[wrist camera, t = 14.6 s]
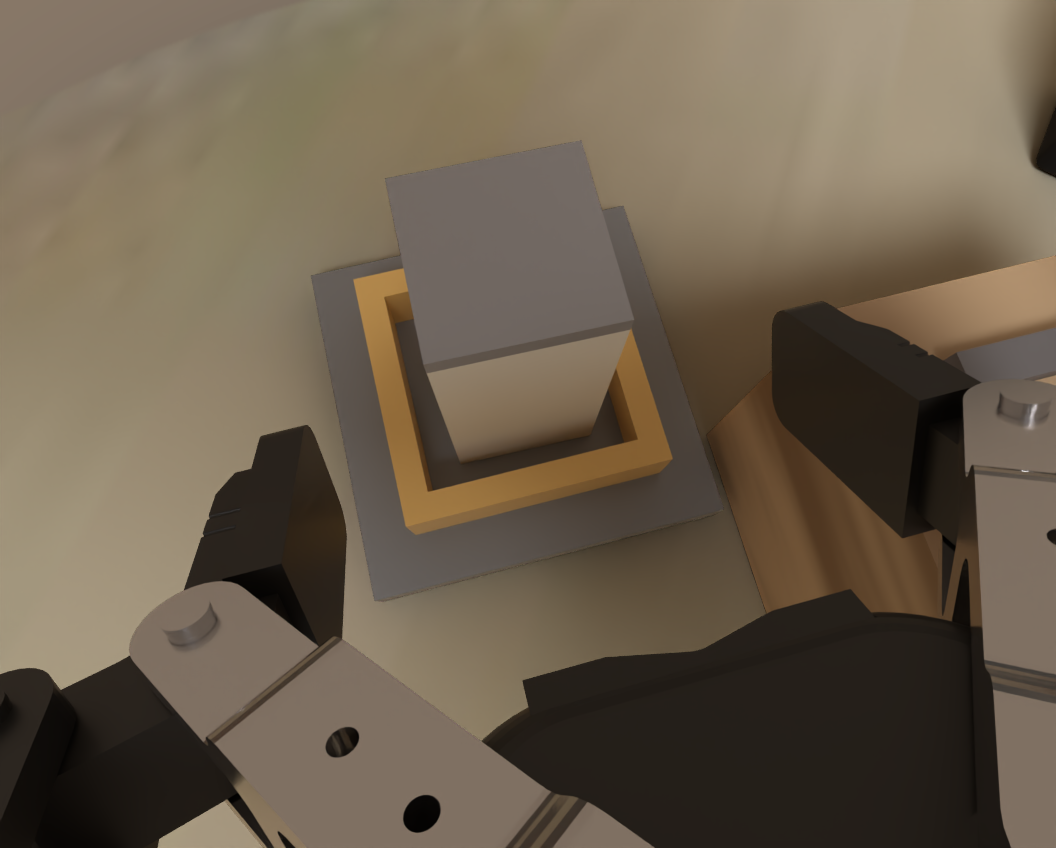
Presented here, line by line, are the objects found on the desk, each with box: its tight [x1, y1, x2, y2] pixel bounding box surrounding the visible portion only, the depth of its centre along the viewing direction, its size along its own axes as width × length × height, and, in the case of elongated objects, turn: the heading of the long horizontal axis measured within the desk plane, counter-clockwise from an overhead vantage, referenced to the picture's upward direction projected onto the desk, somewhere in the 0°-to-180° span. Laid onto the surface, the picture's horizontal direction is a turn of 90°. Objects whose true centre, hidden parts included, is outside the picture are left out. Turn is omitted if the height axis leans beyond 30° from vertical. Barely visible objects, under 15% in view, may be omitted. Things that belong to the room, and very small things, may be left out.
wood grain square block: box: [707, 256, 1056, 618], centre depth 18 cm, size 11×11×11 cm
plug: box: [385, 141, 634, 464], centre depth 19 cm, size 4×4×9 cm
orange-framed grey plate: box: [311, 206, 724, 602], centre depth 23 cm, size 11×11×3 cm
